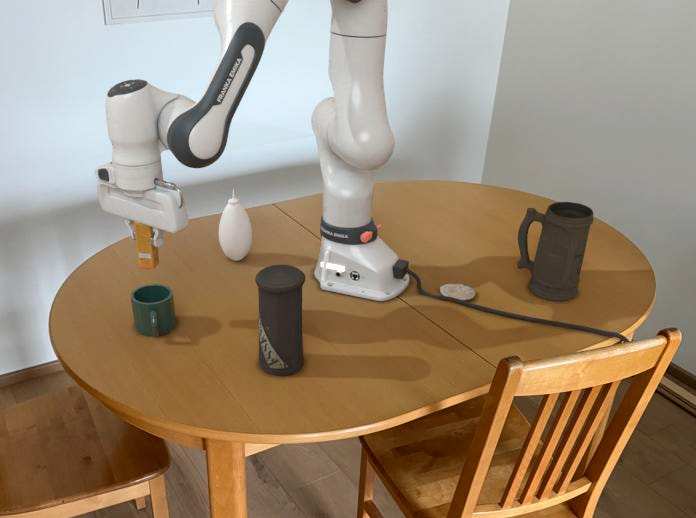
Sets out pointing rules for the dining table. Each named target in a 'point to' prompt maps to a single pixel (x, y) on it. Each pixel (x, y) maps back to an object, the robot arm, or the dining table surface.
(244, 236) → the white air blower bulb
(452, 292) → the flatbread
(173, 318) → the teal faceted mug
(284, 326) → the container
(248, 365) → the dining table surface
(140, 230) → the supplement box
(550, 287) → the beer stein
